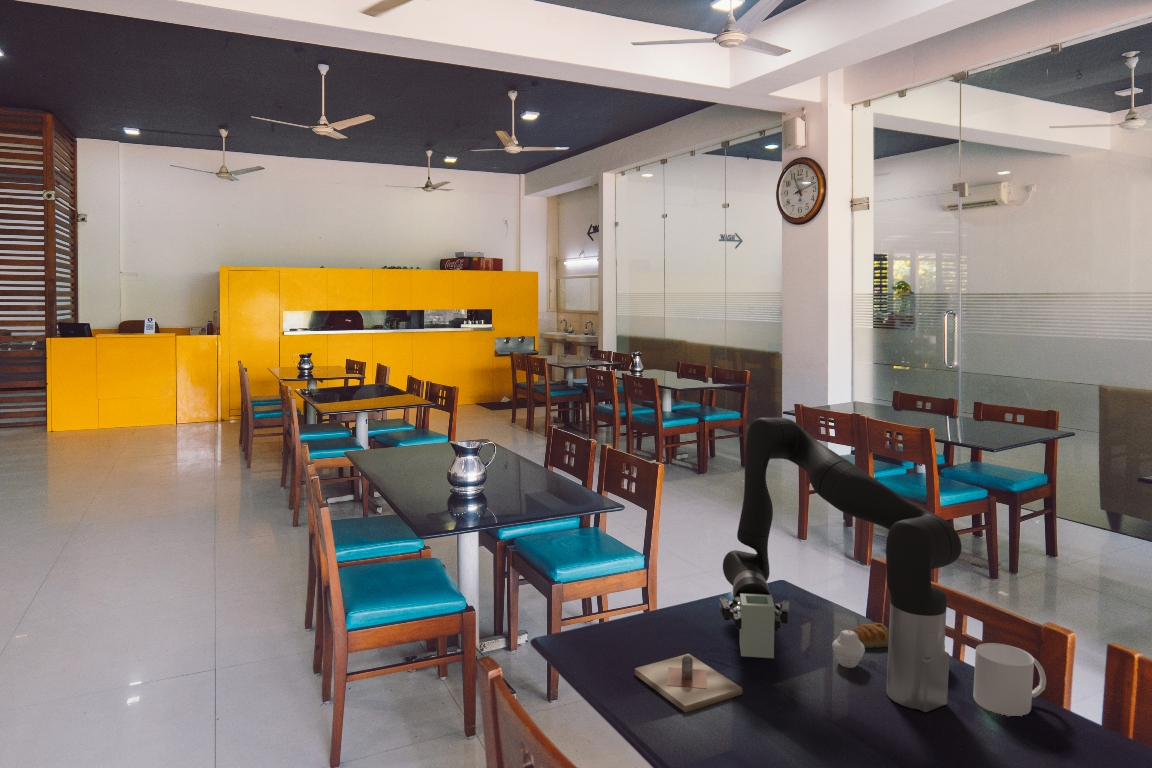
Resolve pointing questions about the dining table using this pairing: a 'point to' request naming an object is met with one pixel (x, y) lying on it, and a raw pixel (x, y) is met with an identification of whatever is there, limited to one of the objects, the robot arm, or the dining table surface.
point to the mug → (1005, 679)
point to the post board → (688, 682)
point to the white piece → (848, 649)
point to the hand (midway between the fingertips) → (757, 624)
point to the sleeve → (757, 625)
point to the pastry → (872, 635)
